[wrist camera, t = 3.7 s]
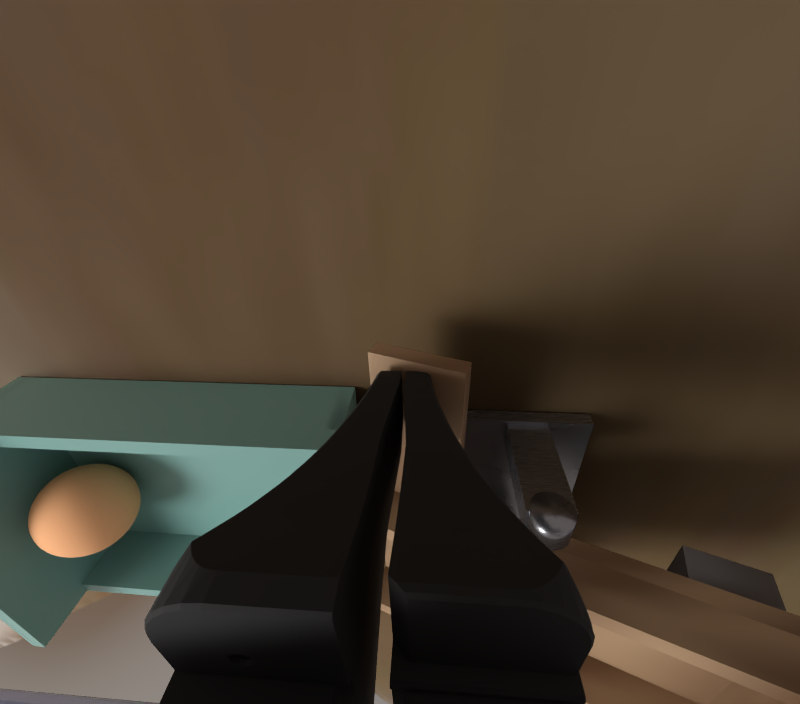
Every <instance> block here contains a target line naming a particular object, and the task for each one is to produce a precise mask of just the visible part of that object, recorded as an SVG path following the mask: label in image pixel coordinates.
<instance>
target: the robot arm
mask: <svg viewBox="0 0 800 704" xmlns="http://www.w3.org/2000/svg"><path fill="white" fill-rule="evenodd" d="M404 396H405V433H406V447H405V456H404V465H403V473H402V481H401V490H400V497H399V505H398V512H397V519H396V526H395V533H394V539H393V545H392V552H391V558H390V564H389V570H388V584H389V596H390V608H391V620H392V632H393V647H392V660H391V673H390V689H392V696H393V704H585V703H586V696H585V692H584V688H583V684H582V680H581V676H580V673H579V670H580V668H581V667H582V665H583V663H584V661H585V660H586V658H587V656H588V654H589V652H590V651H591V649H592V647H593V644H594V639H595V635H594V632H593V628H592V623H591V620H590V617H589V614H588V612H587V609H586V607H585V604H584V602H583V600H582V597H581V595H580V593H579V591H578V589H577V586H576V584H575V582H574V580H573V578H572V576H571V574H570V572H569V570H568V568H567V566H566V564H565V563H564V562H563V561H562V560H561V559H560V558H559V557H558V556H556V555H555V554H554V553H553V552H552V551H551V550H550V549H549V548H548V547H547V546H546V545H545V544H544V543H543V542H542V541H540V540H539V539H538V538H537V537H536V536H535V535H534V534H533V533H532V532H531V531H530V530H529V529H528V528H527V527H526V526H525V525H524V524H523V523H522V521H521V520H520V519H519V518H518V517H517V516H516V515H515V514H514V513H513V512H512V511H511V510H510V509H509V508H508V506H507V505H506V504H505V503H504V502H503V500H502V499H501V498H500V497H499V496H498V495H497V493H496V492H495V491H494V490H493V489H492V488H491V486H490V485H489V484H488V483H487V482H486V480H485V479H484V478H483V476H482V475H481V474H480V472H479V471H478V470H477V468H476V467H475V465H474V464H473V463H472V461H471V460H470V458H469V457H468V455H467V454H466V452H465V451H464V449H463V448H462V446H461V444H460V443H459V441H458V439H457V438H456V436H455V434H454V432H453V431H452V429H451V427H450V425H449V423H448V421H447V419H446V417H445V415H444V413H443V410H442V408H441V406H440V404H439V401H438V399H437V396H436V394H435V391H434V388H433V384H432V380H431V376H430V375H429V374H428V373H426V372H418V371H407V372H406V377H405V383H404ZM402 435H403V397H402V371H380V372H379V373H378V374H377V376H376V378H375V379H374V381H373V383H372V384H371V386H370V387H369V389H368V390H367V392H366V393H365V395H364V396H363V398H362V399H361V400H360V402H359V403H358V404H357V406H356V407H355V408H354V410H353V411H352V412H351V414H350V415H349V416H348V417H347V419H346V420H345V421H344V422H343V423H342V424H341V425H340V427H339V428H338V429H337V430H336V431H335V432H334V434H333V435H332V436H331V437H330V438H329V439H328V440H327V441H326V442H325V443H324V444H323V445H322V446H321V447H320V448H319V449H318V450H317V451H316V452H315V453H314V454H313V455H312V456H311V457H310V458H309V459H308V460H307V461H306V462H304V463H303V464H302V465H301V466H300V467H299V468H298V469H296V470H295V471H294V472H293V473H292V474H291V475H290V476H288V477H287V478H286V479H285V480H283V481H282V482H281V483H280V484H278V485H277V486H276V487H274V488H273V489H272V490H270V491H269V492H268V493H266V494H265V495H264V496H262V497H261V498H259V499H258V500H257V501H255V502H254V503H253V504H251V505H250V506H248V507H247V508H245V509H244V510H242V511H241V512H239V513H238V514H236V515H235V516H233V517H231V518H230V519H228V520H226V521H225V522H223V523H221V524H220V525H218V526H217V527H215V528H213V529H212V530H210V531H208V532H207V533H205V534H203V535H202V536H200V537H198V538H196V539H195V540H193V541H192V542H191V543H190V545H189V546H188V548H187V549H186V551H185V552H184V554H183V555H182V556H181V558H180V559H179V561H178V562H177V564H176V566H175V567H174V569H173V571H172V572H171V574H170V576H169V577H168V579H167V581H166V583H165V584H164V586H163V588H162V590H161V592H160V593H159V595H158V597H157V599H156V600H155V602H154V604H153V606H152V608H151V609H150V611H149V613H148V614H147V616H146V618H145V631H146V634H147V636H148V637H149V639H150V641H151V643H152V644H153V645H154V646H155V647H156V648H157V650H158V651H159V652H160V653H161V654H162V655H163V657H164V658H165V659H166V660H167V661H168V662H169V664H170V665H171V666H172V667H173V668H174V670H175V671H174V673H173V675H172V678H171V680H170V682H169V684H168V686H167V688H166V690H165V693H164V695H163V697H162V699H161V701H160V703H152V702H141V701H130V700H118V699H108V698H96V697H86V696H75V695H64V694H54V693H42V692H32V691H21V690H10V689H0V704H374V695H375V680H376V665H377V651H378V638H379V625H380V611H381V599H382V587H383V574H384V563H385V551H386V540H387V532H388V524H389V518H390V513H391V507H392V502H393V496H394V491H395V485H396V480H397V474H398V469H399V463H400V457H401V450H402Z"/></svg>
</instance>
